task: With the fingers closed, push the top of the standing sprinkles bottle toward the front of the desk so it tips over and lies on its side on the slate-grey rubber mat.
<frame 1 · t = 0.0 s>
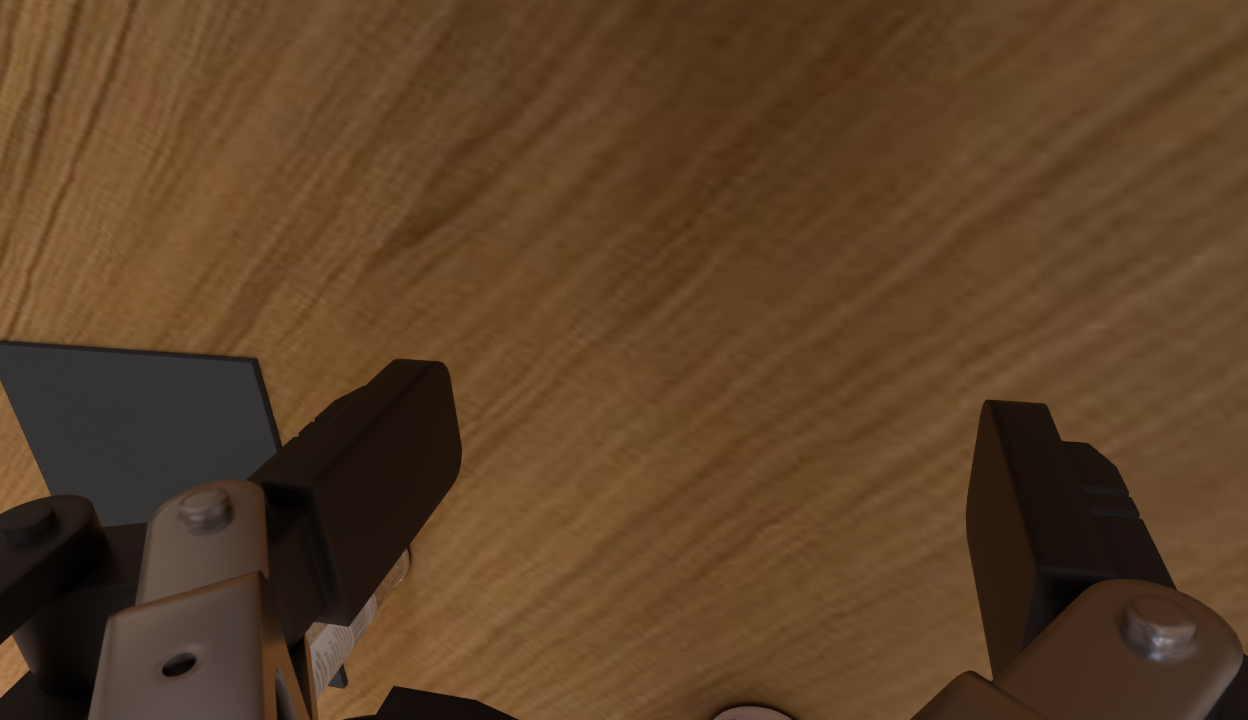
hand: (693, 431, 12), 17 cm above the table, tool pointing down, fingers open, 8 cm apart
mat: (180, 522, 43), on the table
sprinkles bottle: (372, 544, 40), on the table
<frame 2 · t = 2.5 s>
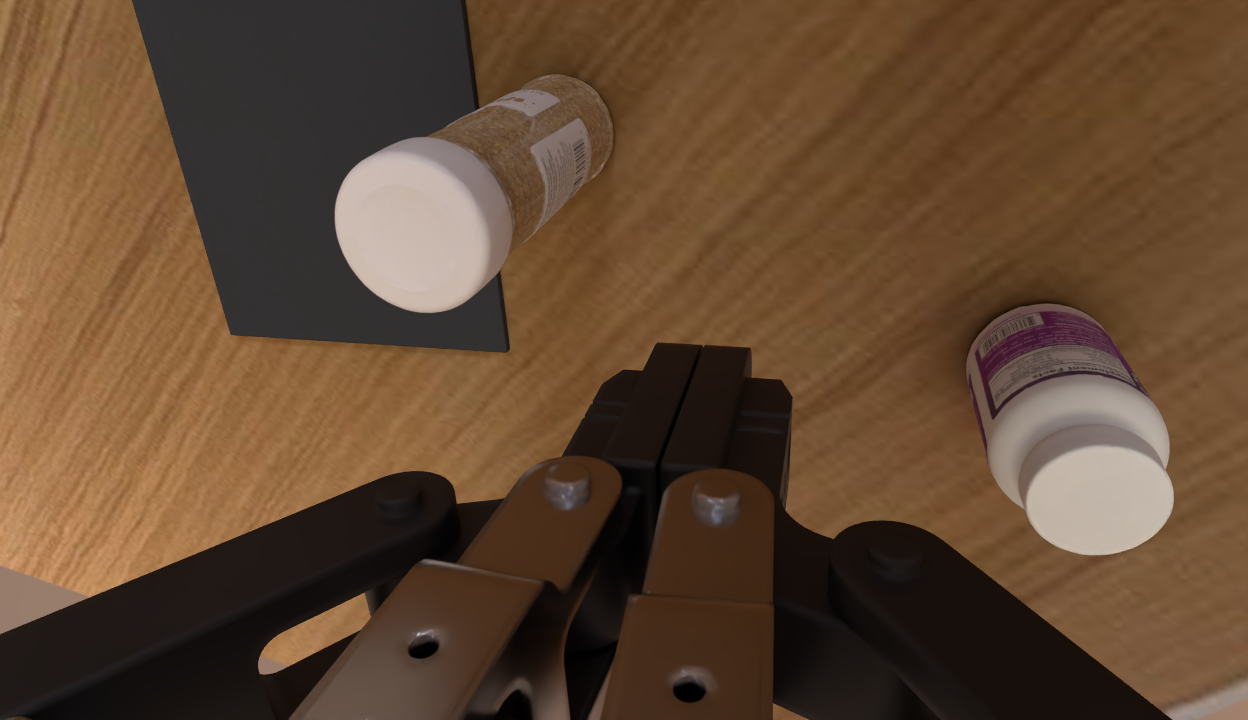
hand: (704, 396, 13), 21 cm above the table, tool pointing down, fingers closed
pill bottle: (1035, 358, 33), on the table
mat: (322, 132, 36), on the table
sprinkles bottle: (564, 130, 33), on the table
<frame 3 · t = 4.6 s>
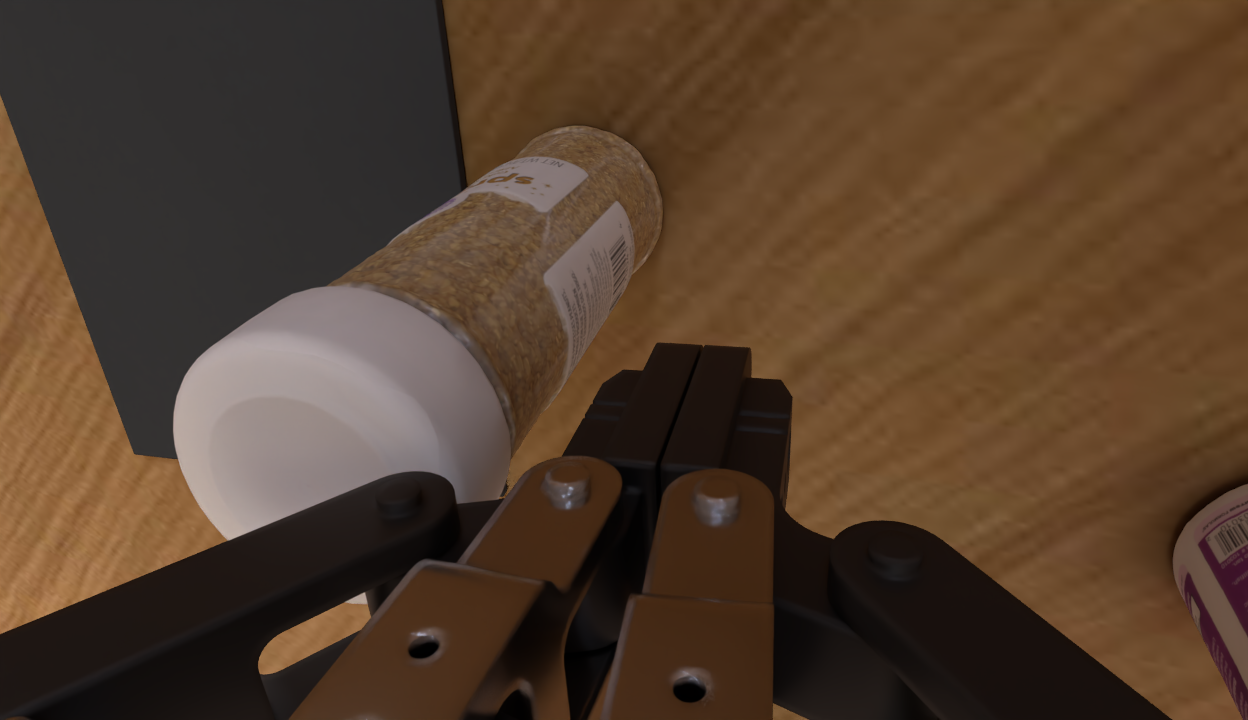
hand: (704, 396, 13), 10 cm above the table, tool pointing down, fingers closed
mat: (243, 197, 25), on the table
sprinkles bottle: (588, 204, 23), on the table, touching gripper
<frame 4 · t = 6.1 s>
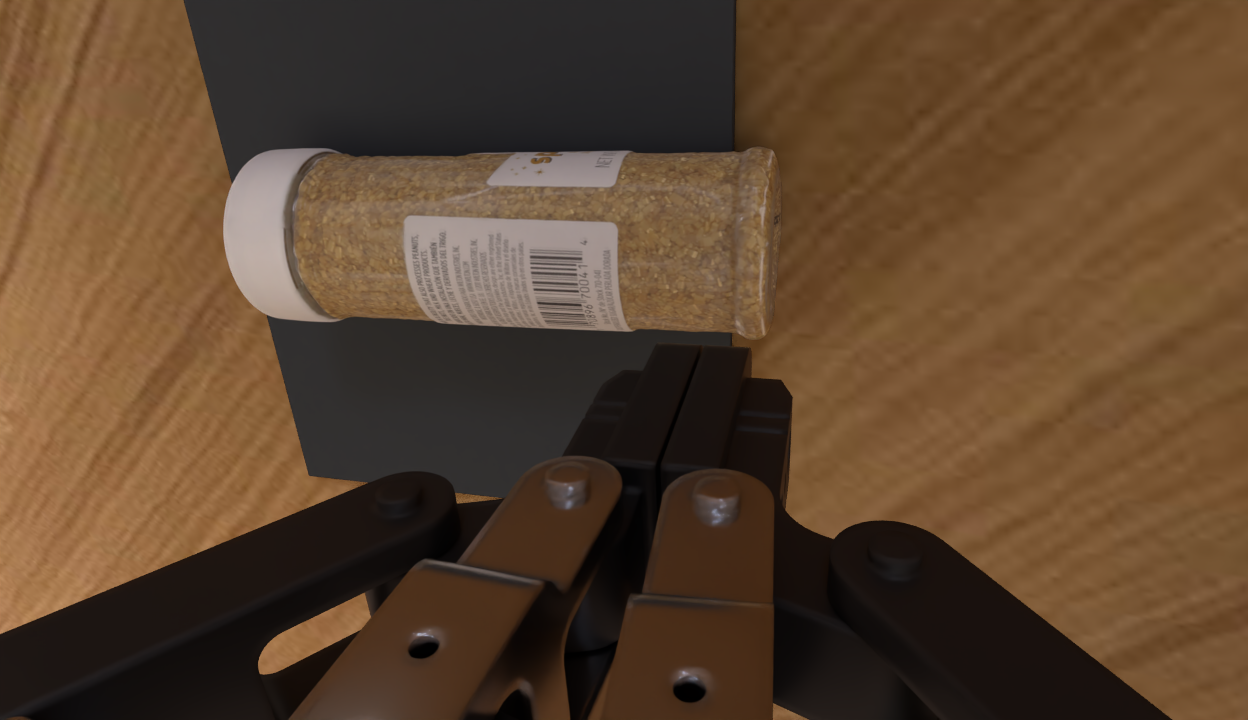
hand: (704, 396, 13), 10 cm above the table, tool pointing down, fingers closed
mat: (470, 204, 24), on the table
sprinkles bottle: (785, 247, 19), point 2 cm above the table, touching mat
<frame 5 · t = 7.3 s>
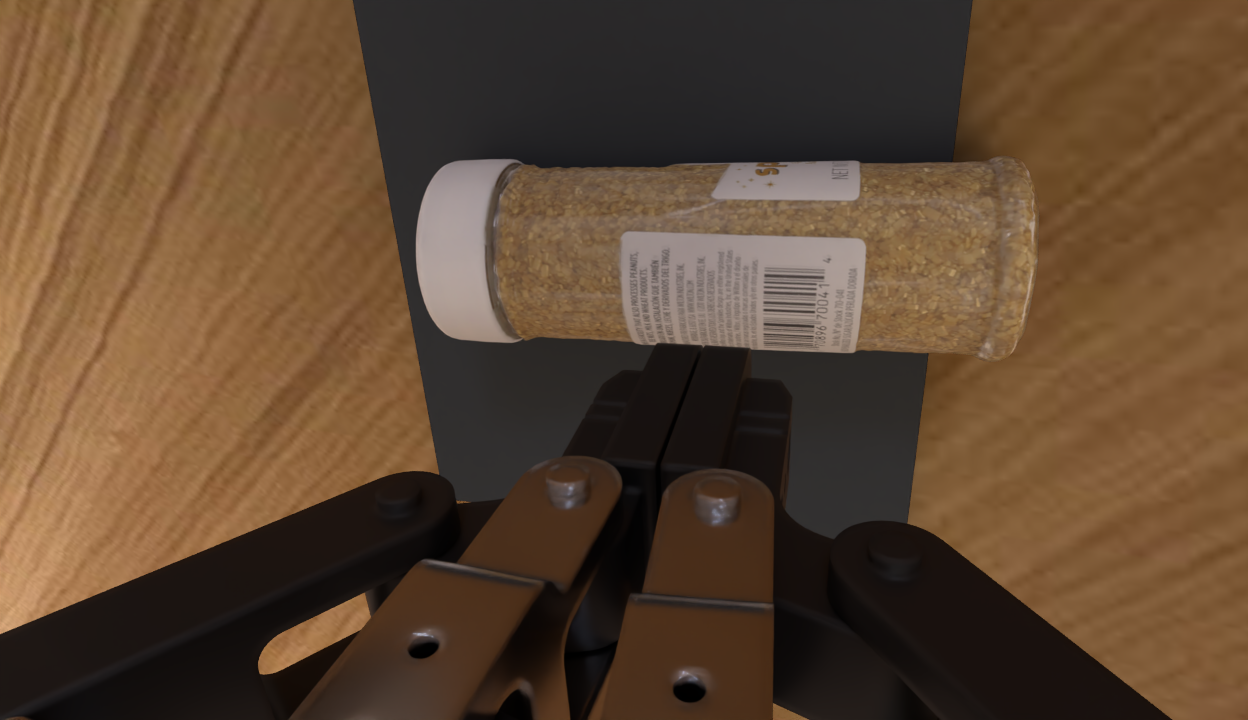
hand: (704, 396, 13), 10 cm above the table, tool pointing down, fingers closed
mat: (648, 216, 22), on the table
sprinkles bottle: (1027, 263, 18), point 2 cm above the table, touching mat
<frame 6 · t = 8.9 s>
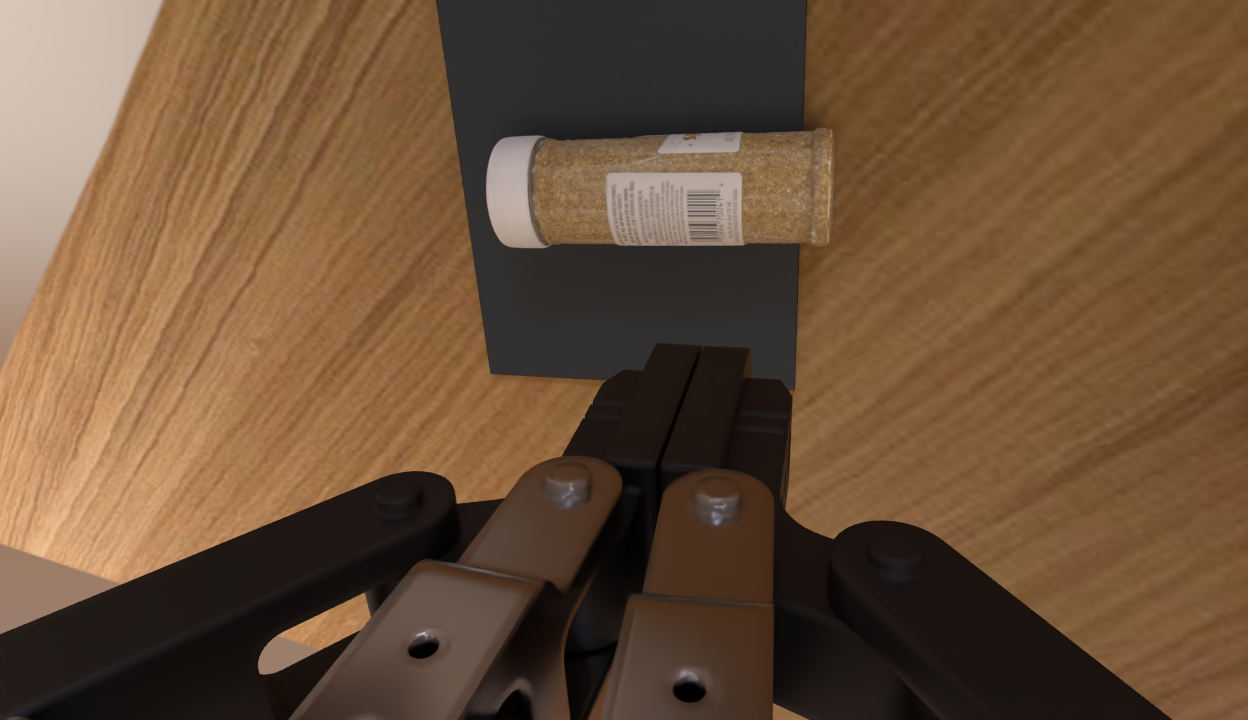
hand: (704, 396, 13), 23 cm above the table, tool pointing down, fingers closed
mat: (624, 172, 36), on the table
sprinkles bottle: (839, 188, 32), point 2 cm above the table, touching mat
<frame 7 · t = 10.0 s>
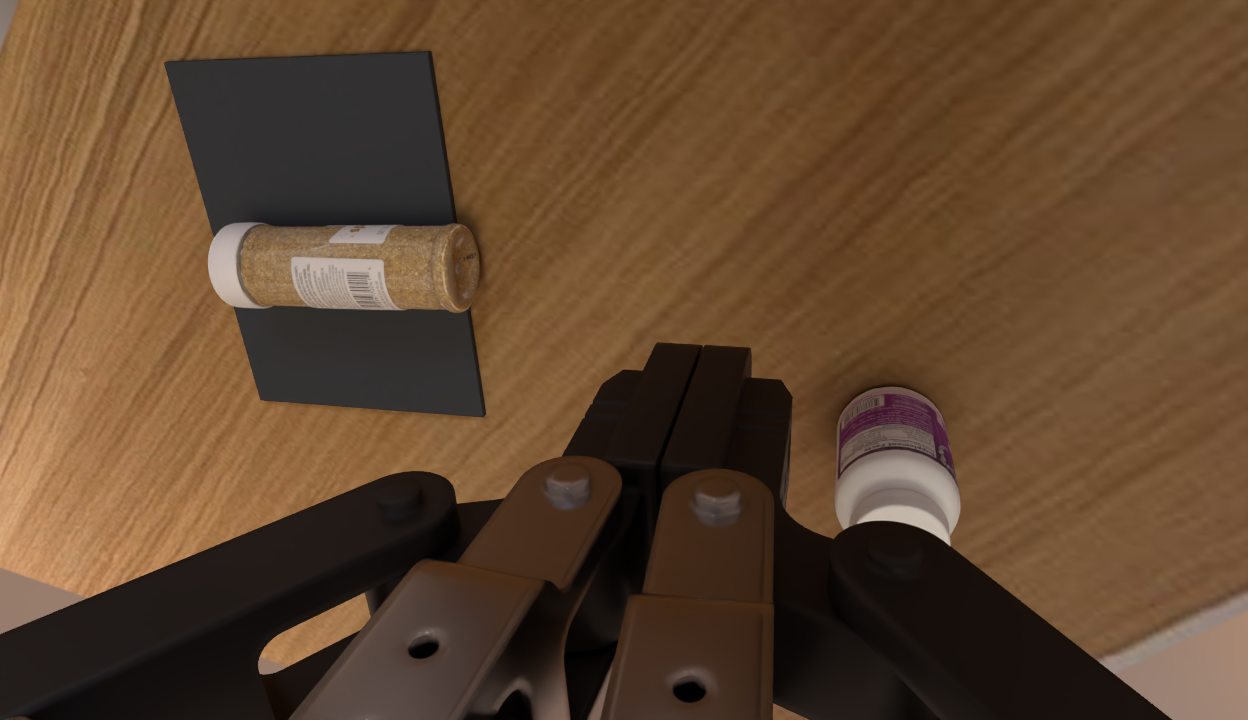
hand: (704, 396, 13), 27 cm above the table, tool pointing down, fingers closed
pill bottle: (890, 426, 43), on the table
mat: (336, 247, 46), on the table
sprinkles bottle: (469, 269, 41), point 2 cm above the table, touching mat
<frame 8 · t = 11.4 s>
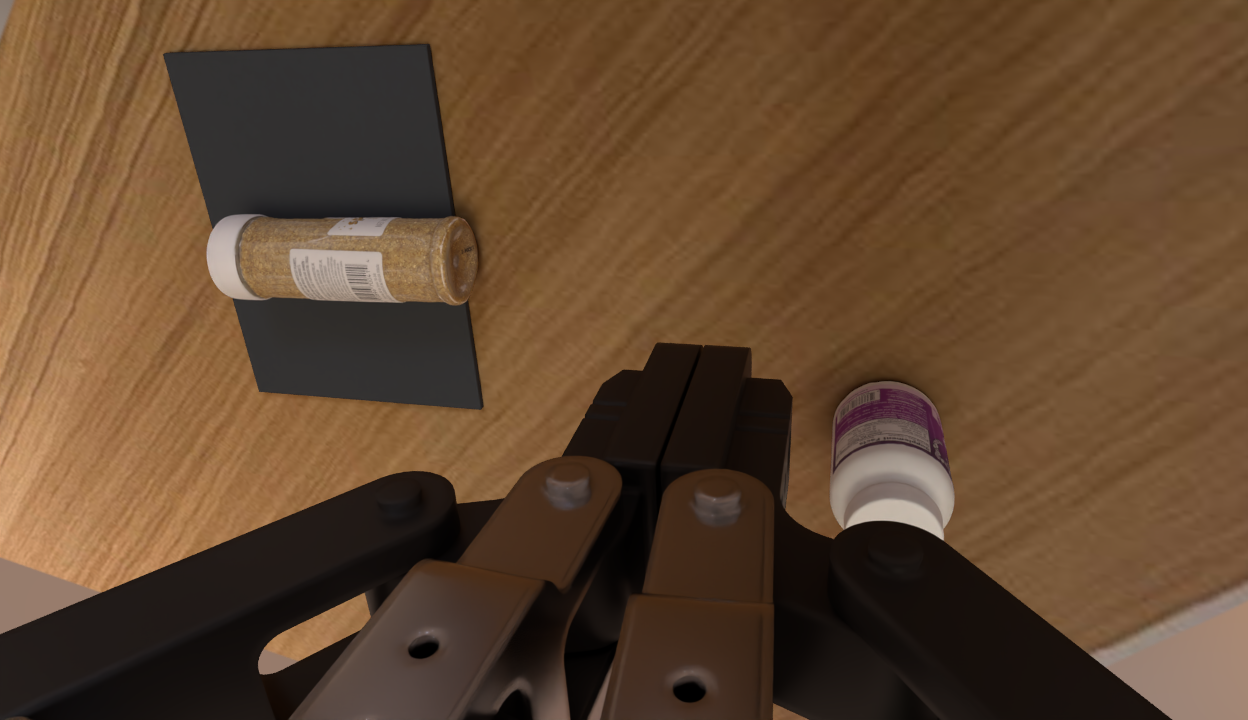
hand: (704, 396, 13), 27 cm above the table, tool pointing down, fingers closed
pill bottle: (885, 420, 43), on the table
mat: (335, 239, 46), on the table
sprinkles bottle: (467, 262, 42), point 2 cm above the table, touching mat
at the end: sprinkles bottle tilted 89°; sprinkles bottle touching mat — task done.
